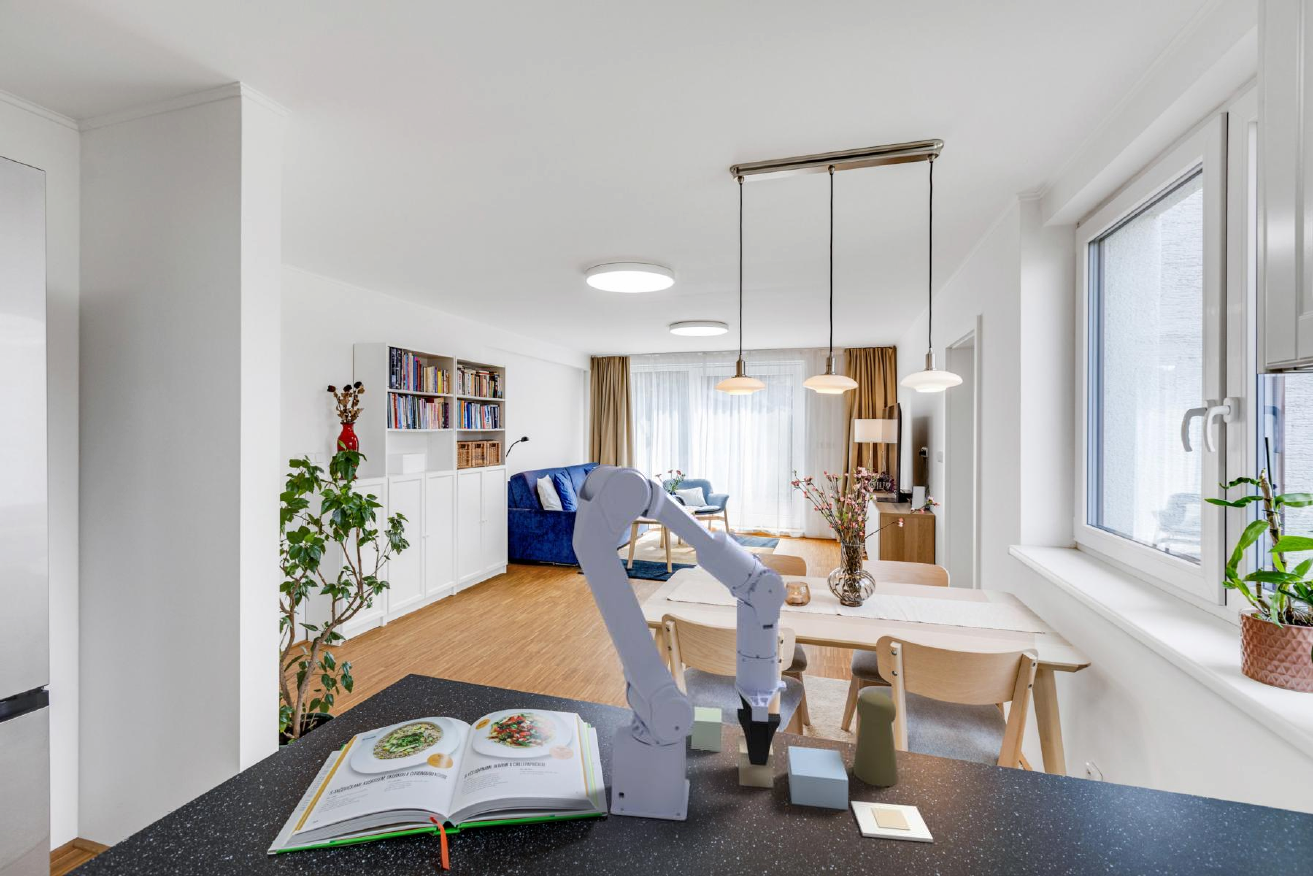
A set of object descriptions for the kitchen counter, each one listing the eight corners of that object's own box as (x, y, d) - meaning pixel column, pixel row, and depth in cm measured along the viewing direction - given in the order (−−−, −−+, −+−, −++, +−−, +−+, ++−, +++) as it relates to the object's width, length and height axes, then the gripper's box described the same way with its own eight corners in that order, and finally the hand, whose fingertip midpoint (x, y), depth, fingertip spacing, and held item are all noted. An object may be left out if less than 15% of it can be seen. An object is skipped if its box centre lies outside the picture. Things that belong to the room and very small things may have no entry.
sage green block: (691, 750, 86) (691, 720, 86) (692, 735, 90) (693, 706, 90) (721, 752, 85) (721, 722, 85) (721, 737, 90) (721, 708, 90)
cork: (903, 789, 77) (904, 708, 77) (856, 783, 78) (857, 703, 78) (893, 764, 83) (894, 689, 83) (850, 759, 84) (851, 685, 84)
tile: (862, 835, 67) (862, 831, 67) (851, 804, 73) (851, 800, 73) (933, 842, 66) (933, 838, 66) (915, 809, 72) (915, 805, 72)
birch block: (739, 785, 77) (740, 752, 77) (738, 766, 82) (738, 735, 82) (773, 788, 77) (773, 754, 77) (770, 769, 81) (770, 737, 81)
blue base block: (791, 805, 73) (792, 774, 73) (787, 774, 80) (788, 745, 80) (847, 811, 72) (848, 780, 72) (839, 779, 79) (839, 750, 79)
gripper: (792, 673, 72) (791, 781, 72) (780, 634, 86) (780, 724, 86) (736, 670, 72) (735, 777, 72) (733, 632, 87) (733, 721, 87)
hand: (756, 748), depth 79 cm, fingers open, 7 cm apart
